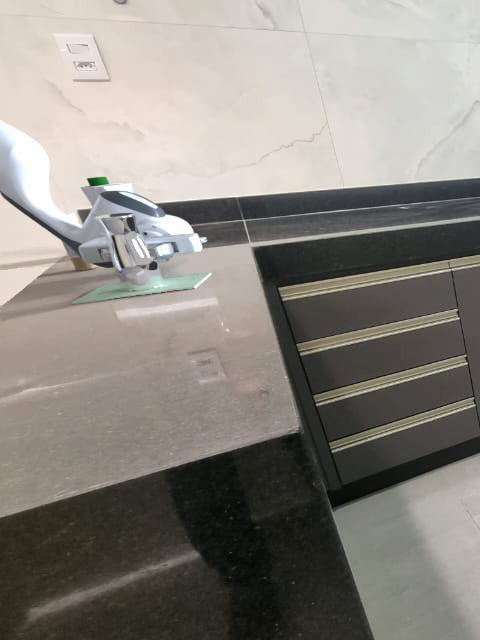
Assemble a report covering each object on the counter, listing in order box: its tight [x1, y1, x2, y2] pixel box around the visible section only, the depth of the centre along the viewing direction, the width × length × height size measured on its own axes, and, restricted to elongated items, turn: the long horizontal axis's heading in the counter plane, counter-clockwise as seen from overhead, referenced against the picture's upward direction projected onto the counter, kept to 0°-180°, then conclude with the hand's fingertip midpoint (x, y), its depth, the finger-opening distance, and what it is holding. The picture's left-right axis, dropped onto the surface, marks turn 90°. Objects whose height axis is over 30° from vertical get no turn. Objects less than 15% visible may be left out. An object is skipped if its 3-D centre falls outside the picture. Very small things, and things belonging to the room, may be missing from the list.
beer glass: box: [95, 213, 165, 291], centre depth 110 cm, size 7×7×15 cm
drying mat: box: [72, 272, 212, 305], centre depth 113 cm, size 20×13×1 cm, turn 114°
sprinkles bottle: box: [61, 212, 100, 271], centre depth 130 cm, size 5×5×14 cm
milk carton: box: [79, 176, 134, 208], centre depth 150 cm, size 9×9×20 cm
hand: (130, 254), depth 110 cm, fingers closed on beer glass, 6 cm apart
